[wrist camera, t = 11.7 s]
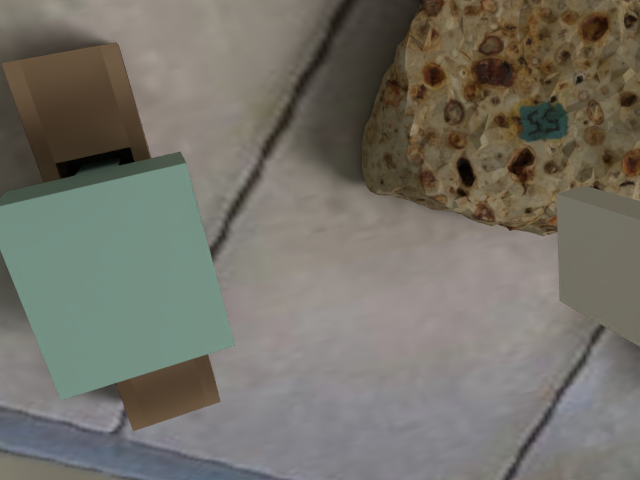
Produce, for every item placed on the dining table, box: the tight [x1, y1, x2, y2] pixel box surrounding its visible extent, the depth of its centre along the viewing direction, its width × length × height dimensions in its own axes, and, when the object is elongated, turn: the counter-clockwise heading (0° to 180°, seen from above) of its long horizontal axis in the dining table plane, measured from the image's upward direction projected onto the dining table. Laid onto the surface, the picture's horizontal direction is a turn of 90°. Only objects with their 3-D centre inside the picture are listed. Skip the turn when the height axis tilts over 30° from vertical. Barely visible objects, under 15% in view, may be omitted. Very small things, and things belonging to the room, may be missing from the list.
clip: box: [0, 152, 235, 400], centre depth 27 cm, size 9×8×8 cm
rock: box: [361, 0, 640, 236], centre depth 33 cm, size 21×14×10 cm
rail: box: [1, 43, 220, 431], centre depth 30 cm, size 20×5×3 cm, turn 11°
